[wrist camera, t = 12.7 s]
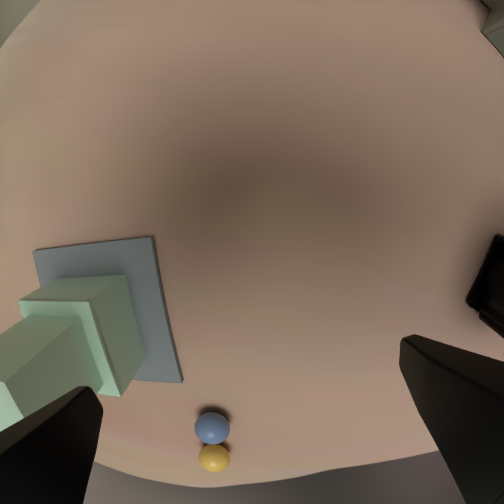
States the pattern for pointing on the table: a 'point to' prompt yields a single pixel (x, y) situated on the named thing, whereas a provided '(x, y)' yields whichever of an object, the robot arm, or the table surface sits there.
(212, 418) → the blue ball
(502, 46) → the digital clock
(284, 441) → the table surface
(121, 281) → the stepped green tower
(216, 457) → the marble amber
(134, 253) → the mat
